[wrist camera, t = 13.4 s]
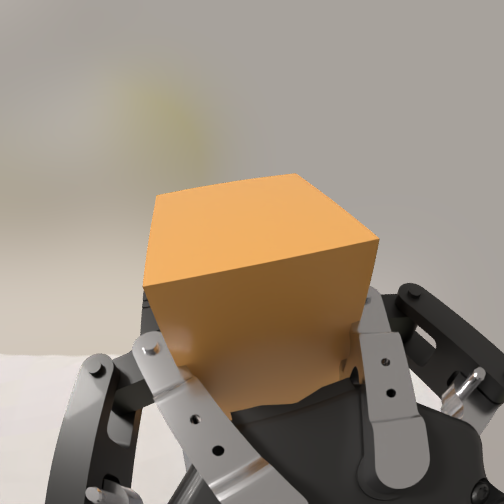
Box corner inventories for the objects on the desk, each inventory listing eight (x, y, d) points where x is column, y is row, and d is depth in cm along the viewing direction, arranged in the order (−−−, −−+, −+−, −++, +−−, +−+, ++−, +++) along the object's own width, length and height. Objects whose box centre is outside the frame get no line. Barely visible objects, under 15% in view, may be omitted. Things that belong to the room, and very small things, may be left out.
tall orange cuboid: (327, 415, 12) (379, 238, 6) (219, 444, 11) (142, 286, 5) (291, 340, 16) (295, 173, 11) (203, 360, 15) (156, 195, 10)
